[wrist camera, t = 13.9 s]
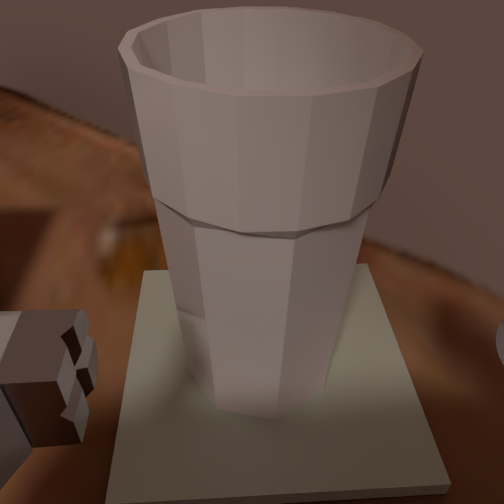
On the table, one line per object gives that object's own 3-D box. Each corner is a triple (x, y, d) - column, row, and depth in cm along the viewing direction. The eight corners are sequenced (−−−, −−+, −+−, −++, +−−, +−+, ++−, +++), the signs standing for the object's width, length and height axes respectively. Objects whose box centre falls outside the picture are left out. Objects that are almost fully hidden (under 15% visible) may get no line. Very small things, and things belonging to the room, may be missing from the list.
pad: (108, 513, 14) (104, 504, 14) (145, 280, 22) (143, 271, 21) (445, 493, 15) (451, 484, 14) (365, 273, 22) (366, 263, 22)
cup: (236, 273, 21) (233, -4, 14) (378, 338, 18) (459, 31, 12) (128, 376, 17) (50, 51, 10) (292, 481, 14) (339, 129, 7)
